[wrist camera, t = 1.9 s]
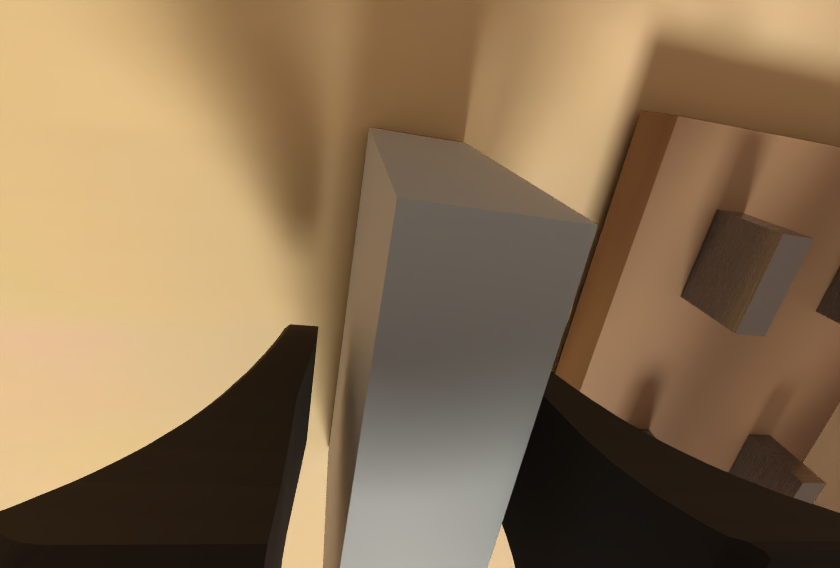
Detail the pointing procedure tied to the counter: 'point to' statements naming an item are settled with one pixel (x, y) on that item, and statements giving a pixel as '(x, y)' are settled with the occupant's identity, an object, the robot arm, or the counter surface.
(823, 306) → the short dark cabinet legs
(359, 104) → the counter surface
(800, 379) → the cabinet base
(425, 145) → the grey rectangular block
